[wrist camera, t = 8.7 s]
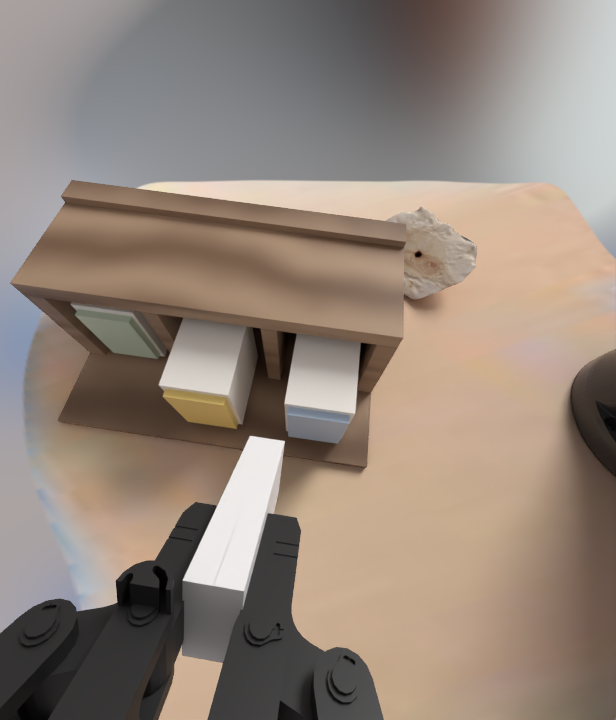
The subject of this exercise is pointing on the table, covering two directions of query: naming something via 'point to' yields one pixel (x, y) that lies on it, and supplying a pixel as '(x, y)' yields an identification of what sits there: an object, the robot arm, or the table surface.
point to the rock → (433, 254)
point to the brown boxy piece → (217, 302)
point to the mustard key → (210, 372)
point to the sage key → (121, 330)
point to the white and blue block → (321, 388)
